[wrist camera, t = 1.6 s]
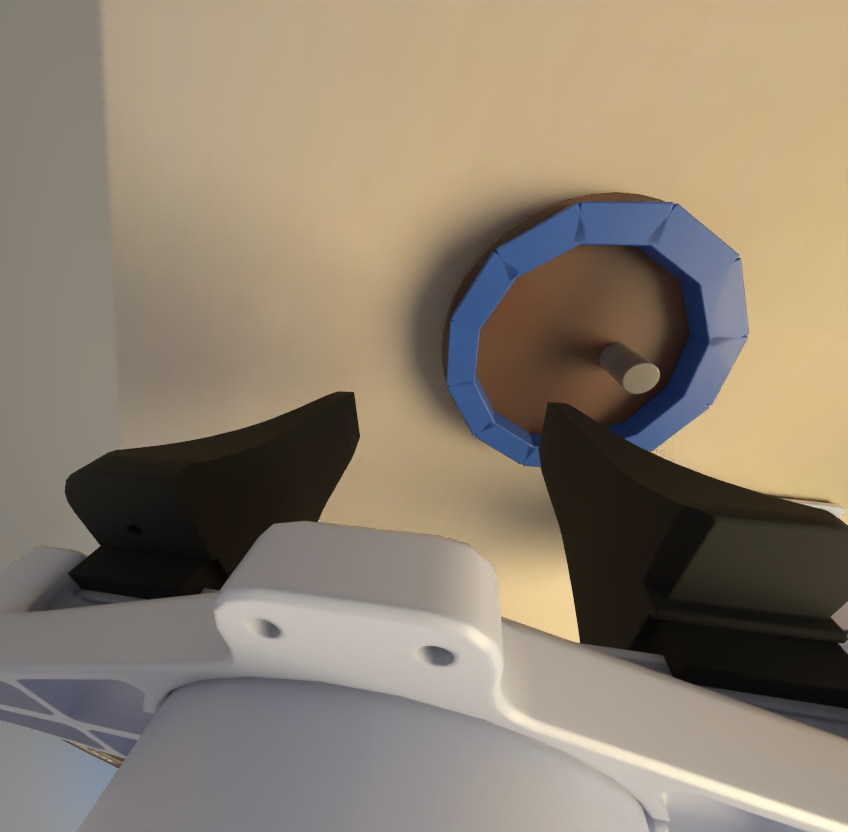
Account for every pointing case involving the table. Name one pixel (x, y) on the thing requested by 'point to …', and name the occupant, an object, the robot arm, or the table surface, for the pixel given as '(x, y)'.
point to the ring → (667, 245)
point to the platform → (579, 330)
